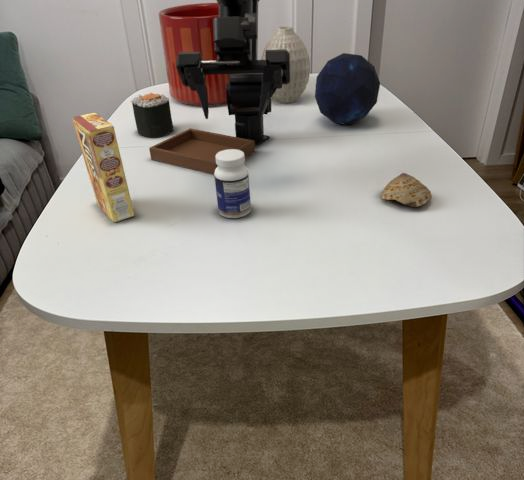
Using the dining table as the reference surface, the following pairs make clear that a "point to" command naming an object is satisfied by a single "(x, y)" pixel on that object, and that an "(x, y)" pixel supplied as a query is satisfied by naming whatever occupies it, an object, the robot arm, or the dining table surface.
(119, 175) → the candy box
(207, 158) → the tray
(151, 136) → the sushi
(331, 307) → the dining table surface
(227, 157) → the pill bottle
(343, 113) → the decorative orb
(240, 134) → the robot arm
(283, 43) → the vase
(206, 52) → the planter
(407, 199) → the seashell
